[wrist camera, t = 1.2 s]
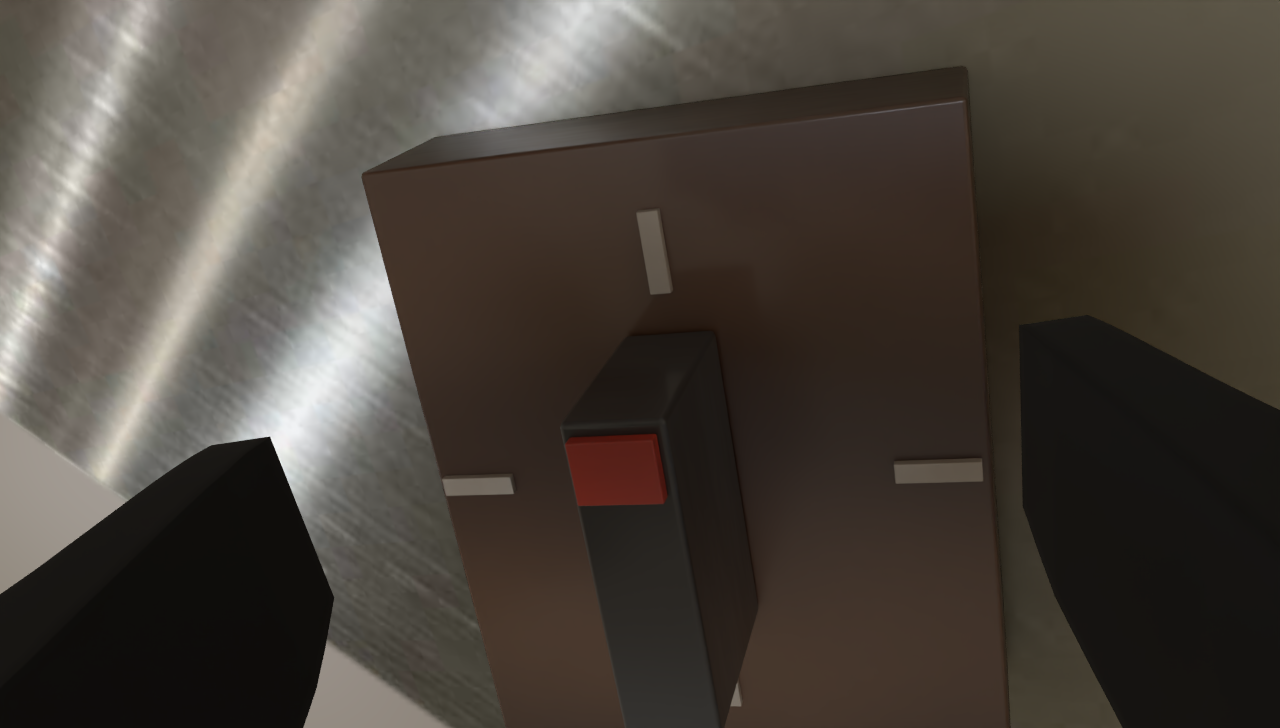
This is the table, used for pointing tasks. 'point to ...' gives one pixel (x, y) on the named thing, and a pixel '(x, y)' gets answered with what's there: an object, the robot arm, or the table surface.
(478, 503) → the plate
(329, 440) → the table surface
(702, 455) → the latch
